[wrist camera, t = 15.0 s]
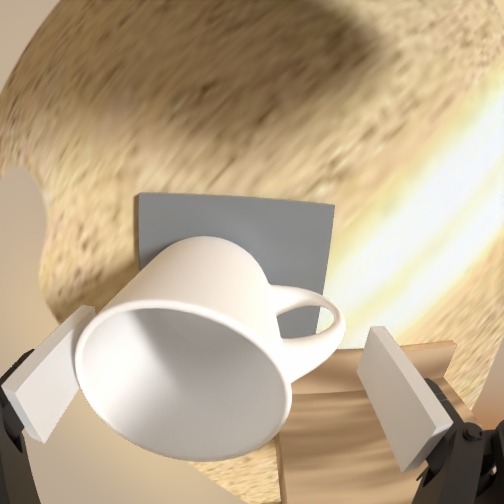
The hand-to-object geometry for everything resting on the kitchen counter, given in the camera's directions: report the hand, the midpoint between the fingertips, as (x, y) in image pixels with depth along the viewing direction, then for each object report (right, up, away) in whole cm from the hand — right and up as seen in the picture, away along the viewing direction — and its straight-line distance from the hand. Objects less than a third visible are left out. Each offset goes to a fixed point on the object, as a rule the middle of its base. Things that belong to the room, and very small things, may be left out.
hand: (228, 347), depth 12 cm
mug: (0, +2, +7) cm, 8 cm away
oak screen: (+12, -7, +10) cm, 17 cm away
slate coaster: (0, +2, +8) cm, 8 cm away
